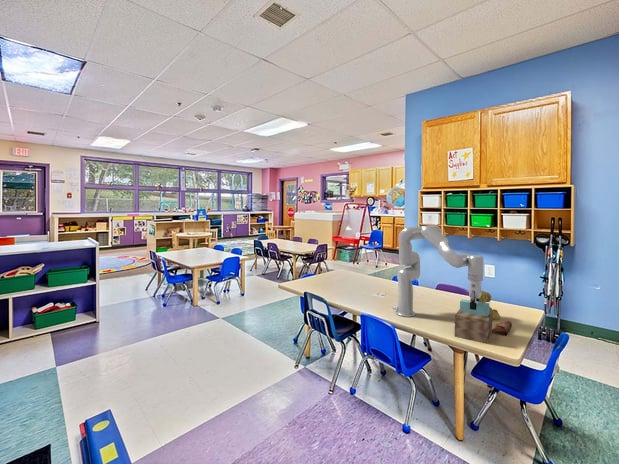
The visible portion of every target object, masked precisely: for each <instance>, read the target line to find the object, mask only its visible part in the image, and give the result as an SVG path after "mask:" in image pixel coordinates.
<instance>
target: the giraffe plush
mask: <svg viewBox="0 0 619 464" xmlns="http://www.w3.org/2000/svg"><path fill="white" fill-rule="evenodd" d="M491 301H492V295H491V294H490V293H489V292H487V291H484V290H483V289H481V297H480V298H479V302H484V303H490V302H491ZM489 310H492V311H493V319H492V321H494V320H500V318H501V317H500V313H499V311H498V310H497V309H493V308H492V307H491V306H490V305H489Z"/></svg>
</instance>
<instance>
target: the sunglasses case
mask: <svg viewBox="0 0 619 464" xmlns="http://www.w3.org/2000/svg"><path fill="white" fill-rule="evenodd" d="M512 327H513V323H512V321H510V320H505V321H502V322H498V323H496V324H495V326H494V327H492V333H493V334H497V335H501V336H504V337H507V336H508V335H509V333H510V331H511V328H512ZM492 333H491V334H492Z"/></svg>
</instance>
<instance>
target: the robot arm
mask: <svg viewBox="0 0 619 464" xmlns="http://www.w3.org/2000/svg"><path fill="white" fill-rule="evenodd" d="M397 237H398V238H397V239H398V261H399V264H400V265H401V266H403V267H404V268H401V269H399V271H397V274H396V279H397V283H398V284H397V285H398V290H397V291H398V296H397V297H398V304H397V305H392V309H393V310H395V314H396V315H397V316H399V317H404V318H405V317H406V318H411V317H415V316H416V312H415V311H414V287H413V282H414V281H416V280H418V279H419V278H420V276H421V258H420V255H419V253H418V252H417V251H414V250H413V243H412V242H411V241H413V240H423V239H425V240H427V241H428V242H429V243H430V244H431V245H432V246H433V247H434V248H435V249H437V250H438V253H439V254H440V256H441V258H442V259H443V260H444V261H446V263H448V264H449V265H451V266H452V267H453V268H456V269H459V268H460V269H461V268H463V267H467V280H468V281H469V288H468V292H469V294H468V295H469V298H470V299H469V300H470V309H472V310H476V304H477V303H476V301H477V302H479V298H480V297H481V290H482V282H483V281H484V256H482V255H479V254H468V253H465V252H463V253H456V252H455V251H454V250H453V249H452V248H451V247H450V246H449V238H448V237H446V236H444V235H443V233H442V229H441V227H440V226H438V225H435V224H431V225H429V224H428V225H423V226H410V227H405V228H404V229H402V230H401V231H399V233H398V236H397Z"/></svg>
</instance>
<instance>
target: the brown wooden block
mask: <svg viewBox="0 0 619 464" xmlns="http://www.w3.org/2000/svg"><path fill="white" fill-rule="evenodd" d="M492 310H493V309H492ZM492 310H489V315H488V316H483V315H477V314H472V313H466V312H461V311H460V308H459V309H458V311H457V312H456V313H455V314H454V337H455V338H459V339H464V340H468V341H473V342H477V343H480V344H481V343H482V344H485V345H488V343H489V340H490V339H491V336H492V329H493V320H492V319H493V311H492Z"/></svg>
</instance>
